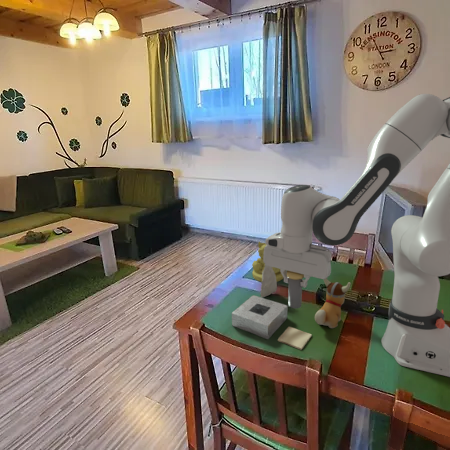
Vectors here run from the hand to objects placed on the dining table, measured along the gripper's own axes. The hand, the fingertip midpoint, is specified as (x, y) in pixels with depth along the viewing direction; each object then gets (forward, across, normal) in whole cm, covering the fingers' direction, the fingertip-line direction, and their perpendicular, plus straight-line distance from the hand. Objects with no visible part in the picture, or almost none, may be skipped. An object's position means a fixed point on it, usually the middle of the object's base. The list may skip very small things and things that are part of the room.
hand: (295, 284), depth 99 cm
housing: (+20, +14, -2) cm, 24 cm away
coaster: (+19, 0, 0) cm, 19 cm away
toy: (+20, -6, -14) cm, 25 cm away
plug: (+7, 0, 0) cm, 7 cm away
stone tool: (+20, +20, -19) cm, 34 cm away
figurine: (+20, +29, -35) cm, 50 cm away
